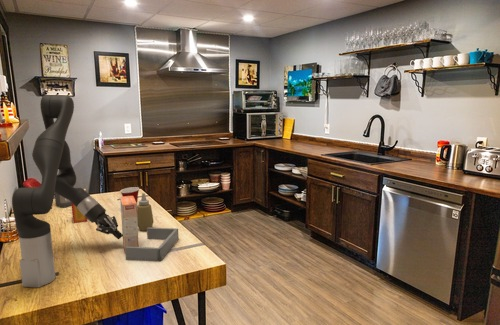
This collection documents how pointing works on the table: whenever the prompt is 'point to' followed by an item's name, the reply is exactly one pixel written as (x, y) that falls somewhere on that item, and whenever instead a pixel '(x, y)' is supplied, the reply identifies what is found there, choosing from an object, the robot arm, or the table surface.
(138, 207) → the squeeze bottle
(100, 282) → the table surface
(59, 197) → the liquor
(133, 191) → the plastic cup
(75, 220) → the baking soda box
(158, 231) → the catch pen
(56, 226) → the table surface
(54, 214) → the table surface
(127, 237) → the cracker box
